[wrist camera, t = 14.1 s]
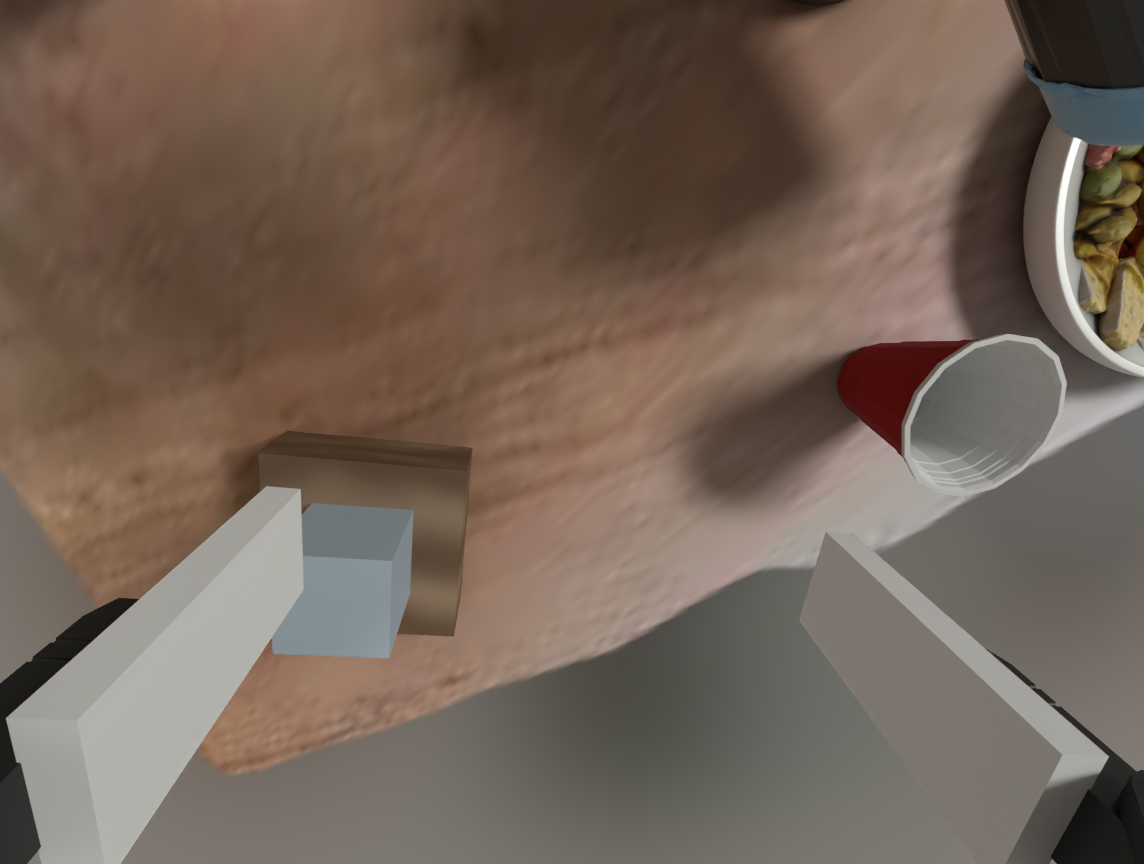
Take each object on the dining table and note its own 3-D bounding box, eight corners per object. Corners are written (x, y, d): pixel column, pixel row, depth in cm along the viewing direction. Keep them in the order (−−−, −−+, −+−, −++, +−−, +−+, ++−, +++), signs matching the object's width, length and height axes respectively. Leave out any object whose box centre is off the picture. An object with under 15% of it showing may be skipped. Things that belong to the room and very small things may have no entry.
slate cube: (311, 503, 38) (268, 553, 32) (413, 510, 39) (392, 560, 32) (313, 589, 40) (272, 653, 34) (409, 593, 41) (389, 658, 34)
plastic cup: (828, 463, 47) (927, 528, 35) (791, 350, 43) (888, 382, 32) (945, 409, 46) (1084, 458, 35) (917, 291, 43) (1061, 302, 32)
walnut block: (287, 431, 42) (258, 453, 37) (472, 447, 43) (466, 471, 39) (291, 589, 46) (264, 627, 41) (460, 598, 47) (453, 636, 43)
